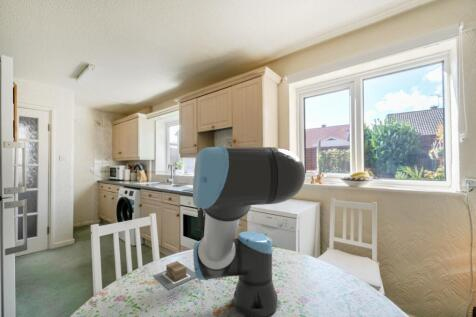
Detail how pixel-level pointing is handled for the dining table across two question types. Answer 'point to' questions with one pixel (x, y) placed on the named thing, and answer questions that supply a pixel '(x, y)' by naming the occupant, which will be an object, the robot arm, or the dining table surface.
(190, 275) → the mat
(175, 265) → the base block
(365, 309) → the dining table surface
